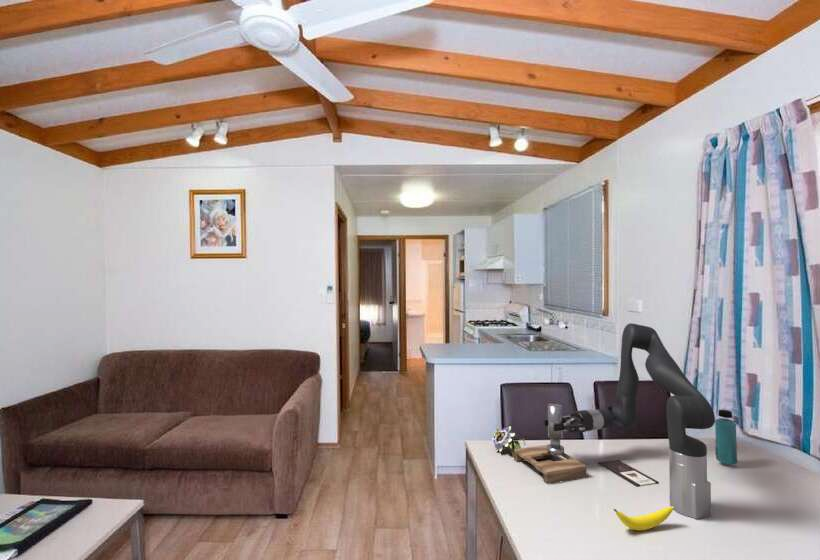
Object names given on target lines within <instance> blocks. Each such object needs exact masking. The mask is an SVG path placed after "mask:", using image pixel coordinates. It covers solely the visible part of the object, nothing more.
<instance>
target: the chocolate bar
mask: <svg viewBox="0 0 820 560" xmlns="http://www.w3.org/2000/svg"><path fill="white" fill-rule="evenodd" d="M597 463H598V465H599V464H600V465H599V466H601V465H602V466H601V467H603V468H604V467H605V468H604V469H606V470H608V471H609V470H610V471H609V472H612V473H613V474H615V475H616V476H617V477H619V478H621V479H623V480H625V481H626V482H628V483H629V484H631V485H633V486H635V487H636V488H638V487H643V486H644V487H645V485H646V486H652V485H657V484H660V481H658V480H656V479H654V478H653V477H651V476H649V475H647V474H646V473H644V472H642V471H640V470H639V469H636V468H634V467H632V466H631V465H628V464H627V463H625V462H624V461H621V460H620V459H617V460H609V461H607V460H606V461H599V462H597Z"/></svg>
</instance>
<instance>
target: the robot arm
mask: <svg viewBox="0 0 820 560" xmlns="http://www.w3.org/2000/svg"><path fill="white" fill-rule="evenodd" d="M620 349H621V350H620V367H619V368H620V370H619V377H618V383H617V387H616V393H615V397H616V398H617V399H618V400H619V401H621V404H622V405H621V404H619V403H618V404H616V403H612V404H609V405H607V406H604V407H603V408H598V409H597V408H596V409H592V408H591V409H584V410H575V411H573V412H572V413H571V414H570V415H565V416H563V415H562V424H555V425H553V430H554V431H562V430H563V431H564V432H568V433H570V434H571V433H585V432H591V431H593V432H594V431H598V430H601V429H608V428H610V427H613V426H614V424H617V425H619V426H622V427H623V428H626V429H631V428H633V427H634V426H635V425H636V424H637V421H638V403H637V395H638V392H639V385H640V378H639V375H638V372H637V369H636V366H635V364H634V360H633V349H638V350H642V351H645V352H647V354H648V356H647V358H646V359H645V363H644V365H645V370H646V372H647V373H648V375H649V376H650V378H651V380H652V381H653V382H654V383H655V385H657V386H658V387H660V388H661V389H663V390H664V391H667V392H668V393H670V394H671V396H669V397H668V398H667V400H666V407H665V409H666V411H665V412H666V421H667V422H666V423H667V424H666V425H667V437H668V443H669V444H668V445H669V446H668V447H669V448H668V449H669V451H668V452H669V454H668V455H669V461H668V462H669V463H668V464H669V466H668V468H669V469H668V471H669V507H673V506H674V509H673V511H675V512H677V513H679V514H681V515H684V516H686V517H691V518H692V519H695V520H697V519H701V518H703V519H704V518H706V517H709V516H710V517H711V516H712V485H711V484H712V483H711V482H710V481H709V480H708V459H707V458H708V449H707V445H706V444H705V442H704V441H702V440H700V439H698V438H695V437H693V436H691V435H688V434H687V432H686V430H687V429H692V430H693V429H694V430H708V429H710V428H712V427H713V426H714V425H715V421H716V416H715V412H714V409H713V407H712V405H711V403H710V402H709V400H708V399H706V397H705V396H704V395H703V394H702V393H701V392H700V391H699V390H698V388H697V387H695V385H693V383H691V381H690V380H689V379H688V377H687V376H686V375H685V374H684V372H683V371H682V370H681V367H680V366H679V365H678V364H677V362H676V361H675V359H674V358H673V356H671V354H670V353H669V352H668V350H667V348H666V347H665V345H664V343H663V342H662V340H661V338H660V335H659V334H658V333H657V331H656V330H655V329H654V328H652V327H650V326H646V325H642V324H637V323H631V322H630V323H627V324H626V325H625V326H624V328H623V331H622V335H621V347H620ZM543 426H544V427H548V418H547V419H544V420H543Z"/></svg>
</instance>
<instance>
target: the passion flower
mask: <svg viewBox="0 0 820 560" xmlns="http://www.w3.org/2000/svg"><path fill="white" fill-rule="evenodd" d="M511 430H512V426H511V425H509V426H508V427H503V428H501V429H500V428H497V429H496V430H495V432H494V434H493V437H491V440H492V441H493V443H494V448H495V449H496V451H495V452H496V453H499V452H500V453H502V452H503V451H504V449H505V448H508V447H509V449H510V451H511V455H512V457H514V449H521V448H522V447H521V443H520V442H519V439H517V440H516V439H515V440H514V439H513V437H515V436H516V433H515V432H511ZM520 441H523V445H524V446H526V440H525V438H522V439H520Z"/></svg>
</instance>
